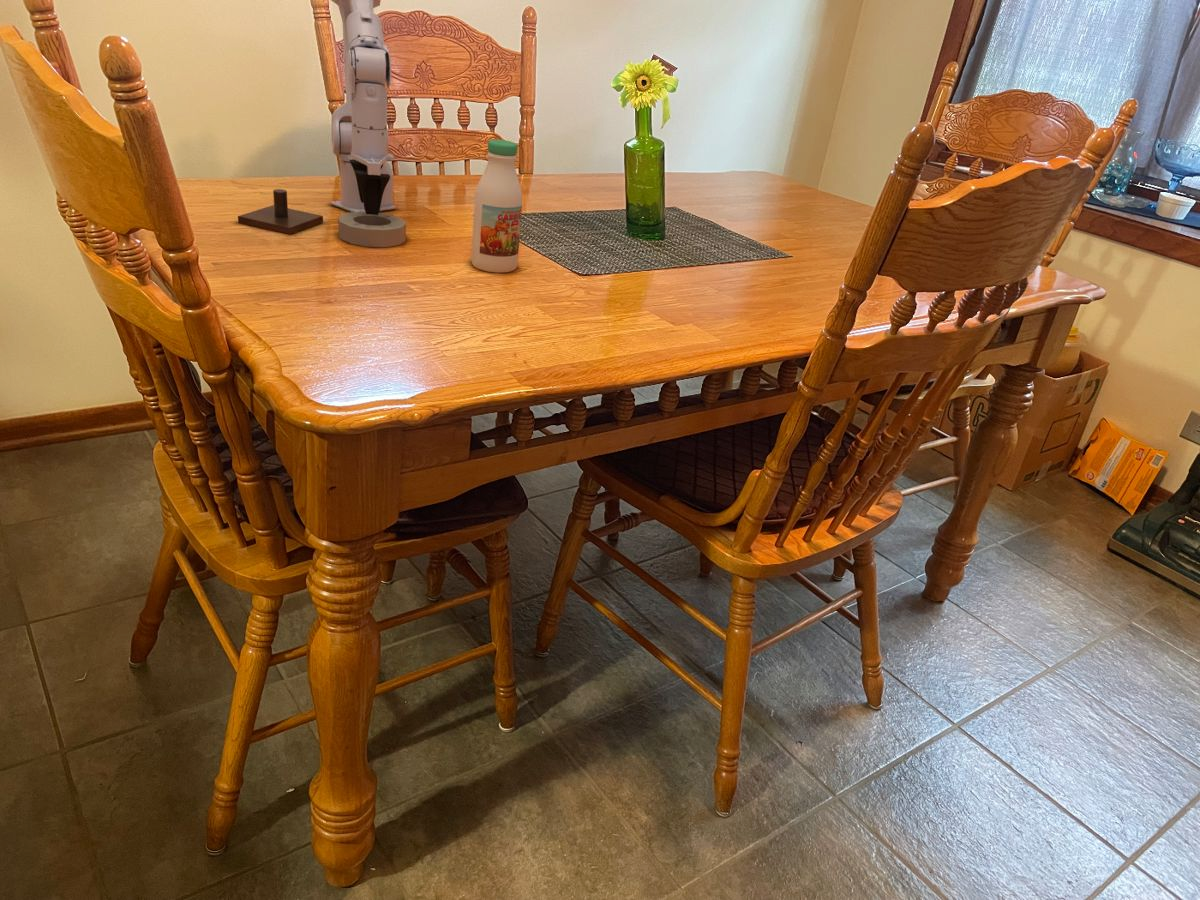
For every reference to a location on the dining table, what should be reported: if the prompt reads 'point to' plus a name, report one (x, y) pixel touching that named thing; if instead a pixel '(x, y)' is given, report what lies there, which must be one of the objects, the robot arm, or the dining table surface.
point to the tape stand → (280, 216)
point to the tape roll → (371, 229)
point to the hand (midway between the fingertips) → (369, 208)
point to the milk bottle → (497, 211)
